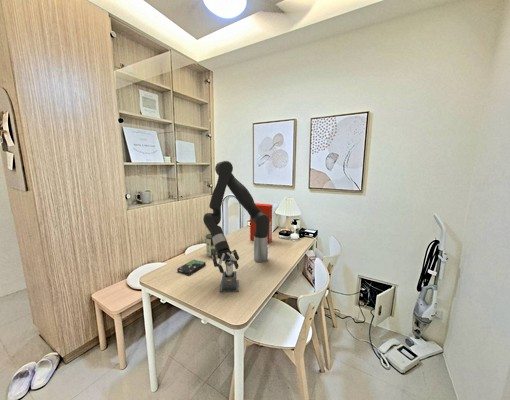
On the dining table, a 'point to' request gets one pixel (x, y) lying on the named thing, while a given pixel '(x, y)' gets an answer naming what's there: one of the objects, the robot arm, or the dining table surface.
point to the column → (229, 268)
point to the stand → (229, 283)
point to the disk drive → (191, 267)
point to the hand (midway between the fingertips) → (230, 270)
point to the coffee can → (210, 246)
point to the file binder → (268, 211)
